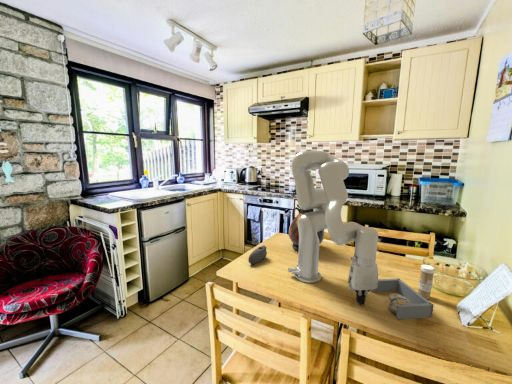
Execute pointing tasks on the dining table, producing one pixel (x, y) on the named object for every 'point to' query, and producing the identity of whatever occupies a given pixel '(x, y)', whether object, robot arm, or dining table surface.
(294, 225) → the amphora vase
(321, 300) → the dining table surface
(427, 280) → the sprinkles bottle
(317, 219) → the robot arm
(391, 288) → the box
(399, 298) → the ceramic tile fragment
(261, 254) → the perforated stone tool
